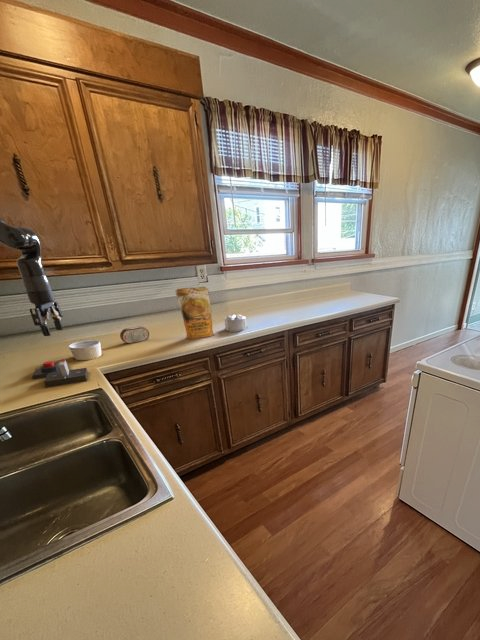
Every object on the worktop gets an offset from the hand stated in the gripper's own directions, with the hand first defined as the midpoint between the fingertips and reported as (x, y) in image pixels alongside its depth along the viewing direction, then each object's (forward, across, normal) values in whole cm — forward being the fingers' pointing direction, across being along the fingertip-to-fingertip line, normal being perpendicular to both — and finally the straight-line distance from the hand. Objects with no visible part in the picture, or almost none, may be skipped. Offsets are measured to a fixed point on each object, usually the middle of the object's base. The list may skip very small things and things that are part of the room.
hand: (53, 332), depth 125 cm
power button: (+17, -10, -13) cm, 23 cm away
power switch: (+21, -10, -12) cm, 26 cm away
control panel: (+21, -1, -2) cm, 21 cm away
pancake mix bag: (+21, -62, +42) cm, 78 cm away
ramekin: (+21, -31, -7) cm, 38 cm away
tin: (+21, -56, +8) cm, 60 cm away
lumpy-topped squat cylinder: (+21, -78, +63) cm, 102 cm away
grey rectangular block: (+18, -1, -2) cm, 18 cm away
